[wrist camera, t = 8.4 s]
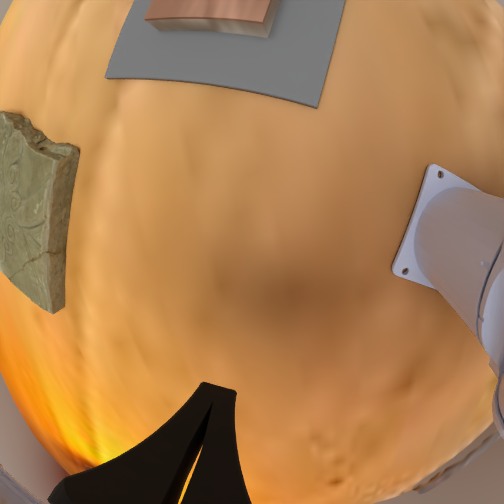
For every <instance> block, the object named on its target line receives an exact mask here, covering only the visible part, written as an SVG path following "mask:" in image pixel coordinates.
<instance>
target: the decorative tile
mask: <svg viewBox="0 0 504 504" xmlns="http://www.w3.org/2000/svg"><path fill="white" fill-rule="evenodd" d="M79 157H80V154H79V152H78V149H77V148H76V147H74V146H73V145H71V144H69V143H58V144H56V143H54V142H52V141H51V140H50V139H48V138H47V137H46V136H44V134H43V132H42V131H37V130H35V129H34V127H33V126H32V124H31V121H30V120H29V119H24V118H23V117H22V116H19V115H17V114H13V113H7V112H4V111H0V270H1V271H2V273H4V274H5V275H6V276H7V278H8V279H9V280H10V282H11V283H13V284H14V285H15V286H16V287H17V288H18V289H19V290H20V291H22V292H23V293H24V294H25V295H26V296H27V297H29V298H30V299H31V301H33V302H34V303H36V304H37V305H38V306H39V307H41V308H42V309H43V310H46V311H48V312H49V313H51V314H55V313H56V312H58V311H59V310H61V309H62V308H63V307H64V306H65V264H66V251H65V250H66V242H67V233H68V225H69V217H70V207H71V200H72V193H73V187H74V182H75V177H76V172H77V166H78V161H79Z"/></svg>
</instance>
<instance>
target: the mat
mask: <svg viewBox="0 0 504 504" xmlns="http://www.w3.org/2000/svg"><path fill="white" fill-rule="evenodd" d="M151 1H152V0H135V1H134V3H133V5H132V7H131V9H130V11H129V13H128V16H127V18H126V20H125V22H124V25H123V27H122V30H121V32H120V34H119V37H118V40H117V42H116V45H115V48H114V50H113V53H112V56H111V59H110V62H109V65H108V68H107V71H106V74H105V78H106V79H149V80H167V81H179V82H189V83H198V84H206V85H213V86H220V87H226V88H232V89H237V90H243V91H248V92H253V93H258V94H262V95H267V96H271V97H275V98H280V99H284V100H288V101H291V102H295V103H299V104H302V105H306V106H309V107H313V108H316V109H317V106H318V102H319V99H320V95H321V91H322V88H323V84H324V80H325V77H326V73H327V69H328V66H329V62H330V58H331V54H332V50H333V47H334V43H335V39H336V35H337V31H338V27H339V23H340V19H341V15H342V11H343V7H344V3H345V0H281V1H280V4H279V6H278V9H277V12H276V15H275V18H274V21H273V24H272V27H271V30H270V33H269V36H268V38H263V37H257V36H250V35H242V34H233V33H223V32H209V31H159V30H157V29H156V28H155V27H153V26H152V25H151V24H149V23H148V22H146V21H145V20H144V17H145V14H146V12H147V10H148V8H149V6H150V3H151Z"/></svg>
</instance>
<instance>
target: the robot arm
mask: <svg viewBox="0 0 504 504" xmlns="http://www.w3.org/2000/svg"><path fill="white" fill-rule="evenodd" d="M439 171H440V172H441V177H440V178H439V177H438V172H439ZM404 268H407V270H406V272H404V273H402V270H403V269H404ZM392 272H393V273H394V274H395V275H396V276H399V277H402V278H405V279H407V280H410V281H413V282H416V283H419V284H422V285H425V286H427V287H430V288H433V289H436V290H438V292H439V293H440V294H441V295H442V296H443V297H444V298H445V300H446V301H447V302H448V303H449V304H450V306H451V307H452V308H453V309H454V310H455V312H456V313H457V314H458V315H459V316H460V318H461V319H462V320H463V321H464V323H465V324H466V325H467V326H468V328H469V329H470V330H471V332H472V333H473V334H474V335H475V337H476V338H477V339H478V341H479V342H480V343H481V345H482V346H483V348H484V349H485V350H486V352H487V353H488V355H489V356H490V361H489V365H490V367H491V368H492V370H493V371H494V373H495V375H496V376H497V378H498V379H499V380H498V382H497V385H496V388H495V391H494V395H493V401H492V412H493V419H494V422H495V425H496V428H497V430H498V432H499V434H500V435H501V437H502V438H503V439H504V198H501V197H497V196H494V195H490V194H487V193H484V192H482V191H481V190H479V189H478V188H476V187H474V186H473V185H471V184H470V183H468V182H466V181H465V180H463V179H461V178H460V177H458V176H456V175H455V174H453V173H451V172H449V171H448V170H446V169H444V168H442V167H440V166H438V165H436V164H430V165H429V166H428V167H427V170H426V173H425V177H424V180H423V183H422V187H421V190H420V193H419V196H418V199H417V202H416V205H415V208H414V211H413V214H412V217H411V219H410V222H409V225H408V228H407V230H406V233H405V235H404V238H403V241H402V243H401V246H400V248H399V250H398V253H397V255H396V258H395V260H394V262H393V265H392ZM236 395H237V392H236V391H235V390H232V389H228V388H224V387H221V386H217V385H213V384H210V383H207V382H202V383H201V384H200V385H199V387H198V388H197V389H196V391H195V392H194V393H193V395H192V396H191V397H190V398H189V400H188V401H187V402H186V403H185V404H184V405H183V406H182V407H181V408H180V409H179V410H178V411H177V412H176V413H175V414H174V415H173V416H172V417H171V418H170V419H169V420H168V421H167V422H166V423H165V424H164V425H162V426H161V427H160V428H159V429H158V430H157V431H155V432H154V433H153V434H152V435H150V436H149V437H148V438H146V439H145V440H144V441H142V442H141V443H139V444H138V445H136V446H135V447H133V448H131V449H130V450H128V451H127V452H125V453H123V454H121V455H120V456H118V457H116V458H114V459H112V460H110V461H108V462H106V463H103V464H101V465H99V466H97V467H94V468H92V469H89V470H86V471H83V472H80V473H77V474H74V475H71V476H68V477H65V478H64V479H63V480H62V481H61V482H60V483H59V484H58V485H57V486H56V487H55V488H54V490H53V491H52V493H51V495H50V496H49V498H48V499H47V500H48V502H49V503H50V504H178V502H179V499H180V496H181V493H182V490H183V487H184V485H185V482H186V480H187V477H188V475H189V473H190V471H191V469H192V466H193V464H194V462H195V460H196V458H197V456H198V454H199V452H200V449H201V447H202V450H201V453H200V456H199V459H198V461H197V464H196V466H195V469H194V472H193V474H192V477H191V479H190V482H189V484H188V487H187V489H186V492H185V494H184V497H183V499H182V502H181V504H252V503H251V501H250V498H249V495H248V492H247V489H246V486H245V482H244V479H243V475H242V471H241V466H240V461H239V456H238V450H237V443H236V432H235V401H236ZM202 445H203V446H202ZM0 504H44V503H43V502H42V501H40V500H39V499H38V498H37V497H35V496H34V495H33V494H32V493H31V492H29V491H28V490H27V489H26V488H25V487H23V486H22V485H21V484H20V483H19V482H18V481H17V480H15V479H14V478H13V477H12V476H11V475H10V474H9V473H8V472H7V471H6V470H5V469H4V468H3V467H2V465H1V464H0Z"/></svg>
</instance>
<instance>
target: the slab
mask: <svg viewBox="0 0 504 504" xmlns="http://www.w3.org/2000/svg"><path fill="white" fill-rule="evenodd" d="M280 1H281V0H152V1H151V3H150V6H149V8H148V10H147V12H146V14H145V17H144V20H145V21H146V22H148V23H149V24H151V25H152V26H153V27H155V28H156V29H157V30H159V31H209V32H223V33H233V34H242V35H250V36H257V37H263V38H268V36H269V33H270V30H271V27H272V24H273V21H274V18H275V15H276V12H277V9H278V6H279V4H280Z"/></svg>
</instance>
